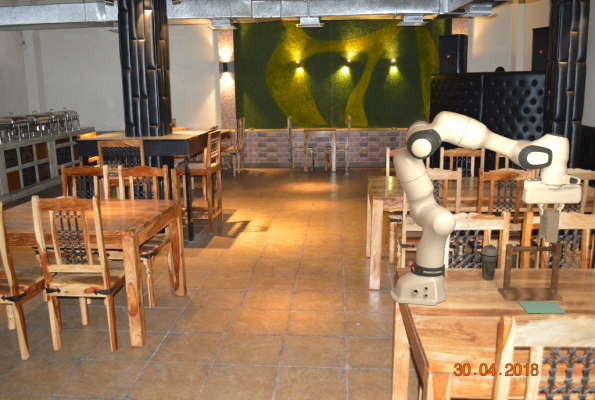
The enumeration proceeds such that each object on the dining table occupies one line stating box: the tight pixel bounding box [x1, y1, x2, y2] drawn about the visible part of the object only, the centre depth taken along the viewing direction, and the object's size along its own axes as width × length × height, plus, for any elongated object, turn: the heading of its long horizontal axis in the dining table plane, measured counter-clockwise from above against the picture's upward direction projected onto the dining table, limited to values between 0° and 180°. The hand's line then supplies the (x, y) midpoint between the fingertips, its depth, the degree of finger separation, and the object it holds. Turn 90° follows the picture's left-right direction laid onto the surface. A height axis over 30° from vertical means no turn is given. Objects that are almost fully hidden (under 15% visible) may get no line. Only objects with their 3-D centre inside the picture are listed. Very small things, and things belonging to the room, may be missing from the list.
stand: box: [497, 243, 563, 302], centre depth 216 cm, size 22×10×22 cm, turn 88°
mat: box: [518, 301, 567, 315], centre depth 206 cm, size 14×10×1 cm
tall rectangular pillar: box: [538, 208, 561, 243], centre depth 199 cm, size 4×7×11 cm, turn 178°
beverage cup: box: [480, 234, 499, 281], centre depth 235 cm, size 7×7×20 cm
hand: (549, 214), depth 199 cm, fingers closed on tall rectangular pillar, 4 cm apart
